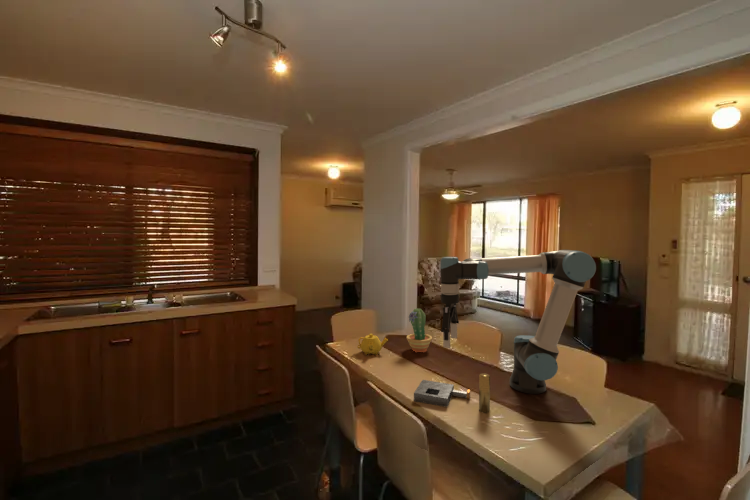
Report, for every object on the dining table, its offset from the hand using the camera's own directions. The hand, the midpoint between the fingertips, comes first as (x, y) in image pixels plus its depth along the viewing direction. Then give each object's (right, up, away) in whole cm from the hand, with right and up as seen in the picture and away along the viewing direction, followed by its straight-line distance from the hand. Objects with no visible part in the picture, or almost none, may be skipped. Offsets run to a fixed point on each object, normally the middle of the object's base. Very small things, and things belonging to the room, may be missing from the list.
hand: (450, 342), depth 148 cm
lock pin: (+2, -23, +1) cm, 23 cm away
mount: (-7, -23, +1) cm, 24 cm away
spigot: (+11, -24, -11) cm, 28 cm away
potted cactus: (-6, -21, +60) cm, 64 cm away
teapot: (-34, -21, +55) cm, 68 cm away
